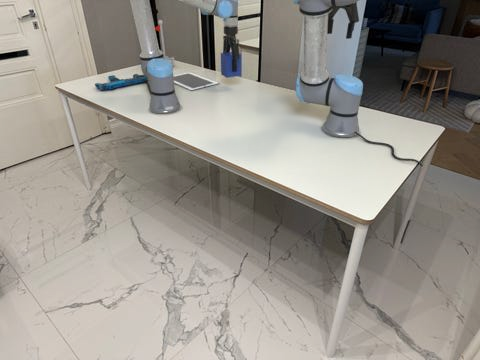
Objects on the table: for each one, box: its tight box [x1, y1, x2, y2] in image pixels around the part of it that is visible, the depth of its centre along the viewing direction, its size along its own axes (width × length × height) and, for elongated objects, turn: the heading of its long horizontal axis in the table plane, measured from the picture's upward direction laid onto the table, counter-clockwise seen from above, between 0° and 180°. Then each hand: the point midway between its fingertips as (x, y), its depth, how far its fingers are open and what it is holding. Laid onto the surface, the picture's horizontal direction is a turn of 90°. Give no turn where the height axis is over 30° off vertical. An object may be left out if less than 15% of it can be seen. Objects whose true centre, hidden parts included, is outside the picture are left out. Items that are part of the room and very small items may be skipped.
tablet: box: [173, 71, 220, 91], centre depth 211 cm, size 32×20×1 cm, turn 41°
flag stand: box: [155, 19, 176, 67], centre depth 232 cm, size 13×13×30 cm
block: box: [220, 51, 242, 79], centre depth 190 cm, size 9×8×12 cm
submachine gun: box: [94, 73, 149, 91], centre depth 208 cm, size 34×4×25 cm
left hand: (231, 69), depth 191 cm, fingers closed on block, 8 cm apart
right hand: (338, 36), depth 162 cm, fingers open, 13 cm apart
